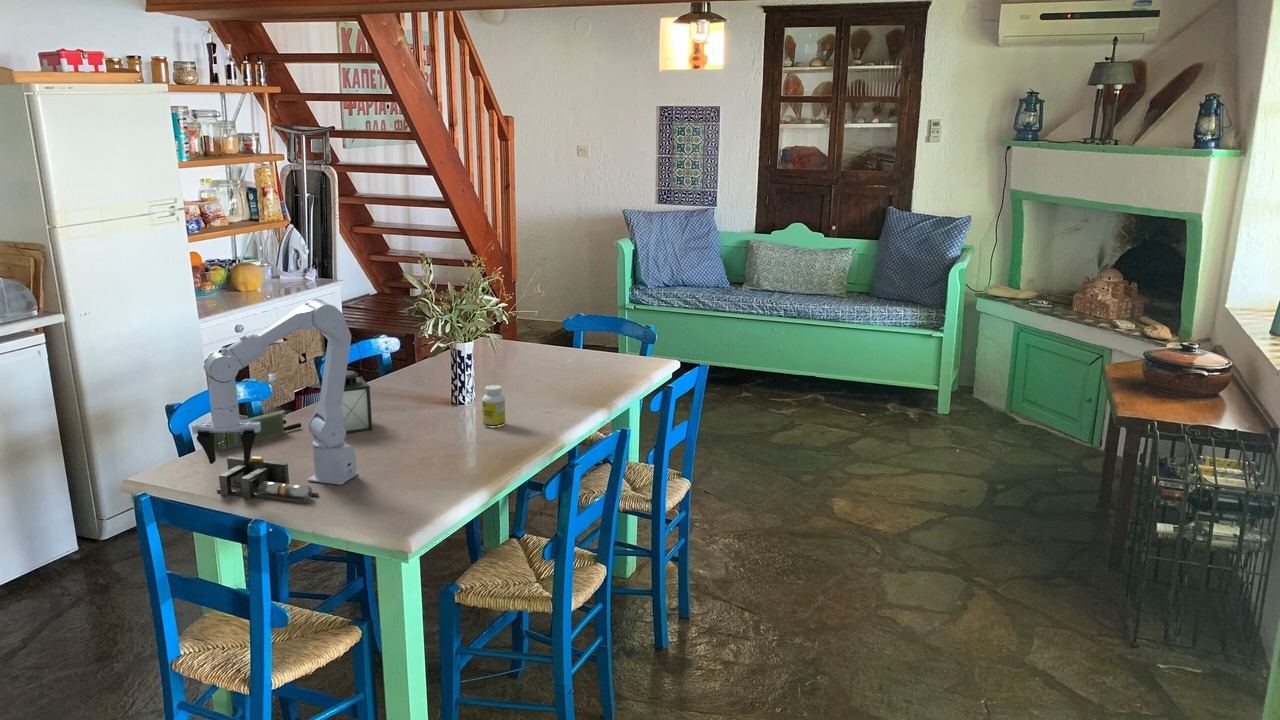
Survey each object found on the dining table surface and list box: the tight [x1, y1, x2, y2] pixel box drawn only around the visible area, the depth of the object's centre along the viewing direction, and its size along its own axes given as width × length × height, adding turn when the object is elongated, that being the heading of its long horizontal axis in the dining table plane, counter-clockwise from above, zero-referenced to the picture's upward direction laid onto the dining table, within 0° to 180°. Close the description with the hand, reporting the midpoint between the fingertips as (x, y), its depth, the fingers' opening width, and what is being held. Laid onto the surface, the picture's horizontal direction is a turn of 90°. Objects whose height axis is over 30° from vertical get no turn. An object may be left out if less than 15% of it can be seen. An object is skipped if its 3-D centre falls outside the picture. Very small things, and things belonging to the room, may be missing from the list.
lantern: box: [341, 335, 373, 435], centre depth 268 cm, size 11×11×28 cm
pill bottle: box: [481, 384, 506, 427], centre depth 273 cm, size 6×6×12 cm
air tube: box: [258, 481, 313, 501], centre depth 220 cm, size 12×3×3 cm, turn 75°
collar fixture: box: [216, 455, 320, 505], centre depth 222 cm, size 26×9×7 cm, turn 75°
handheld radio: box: [214, 410, 302, 452], centre depth 259 cm, size 7×3×25 cm
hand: (230, 461), depth 218 cm, fingers open, 7 cm apart
